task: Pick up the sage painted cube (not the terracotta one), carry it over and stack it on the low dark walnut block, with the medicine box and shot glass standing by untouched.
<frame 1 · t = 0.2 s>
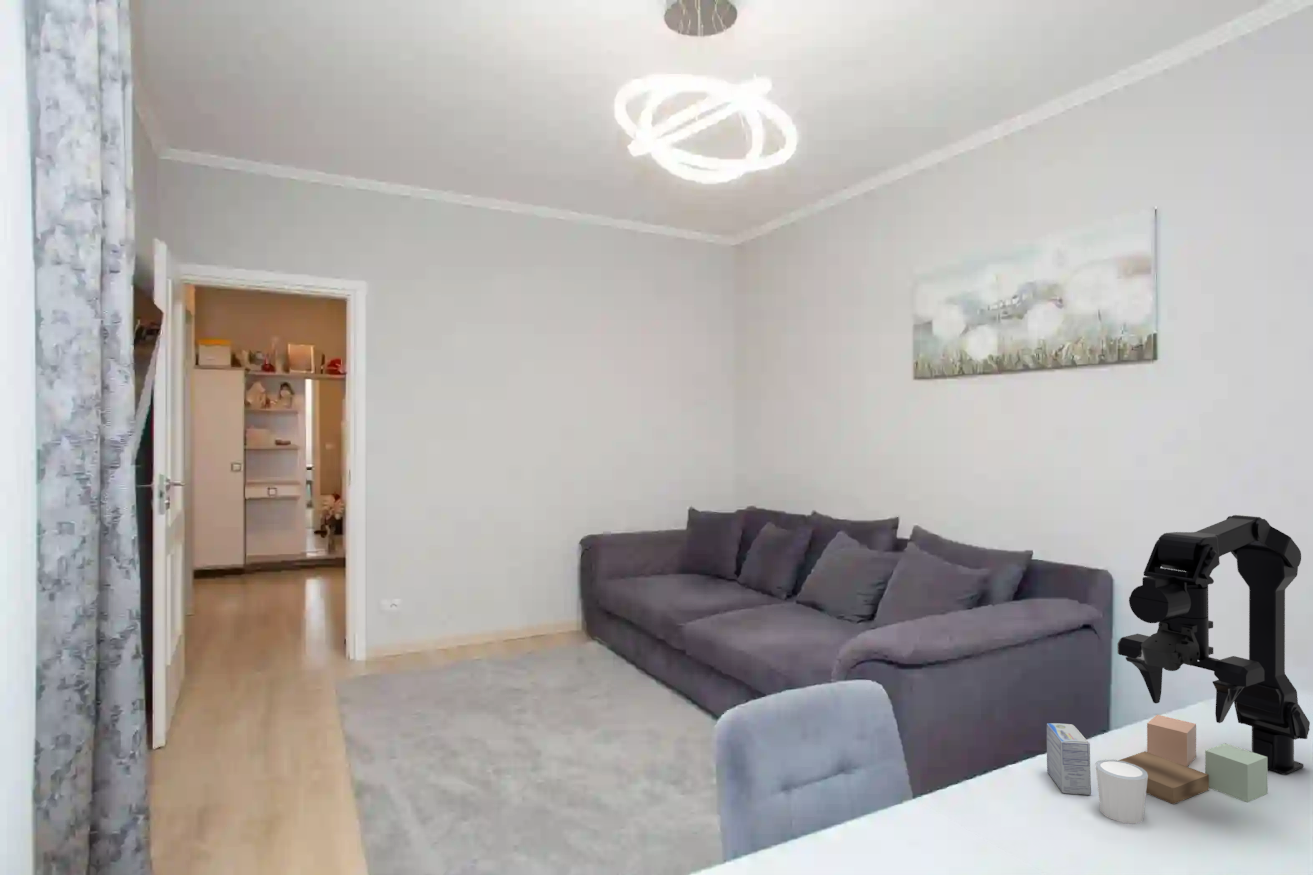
hand: (1186, 712, 118), 14 cm above the table, fingers open, 9 cm apart
walnut block: (1158, 783, 124), on the table
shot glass: (1121, 815, 114), on the table
clay cube: (1171, 756, 134), on the table
sage cube: (1236, 790, 121), on the table
medicine box: (1068, 784, 124), on the table
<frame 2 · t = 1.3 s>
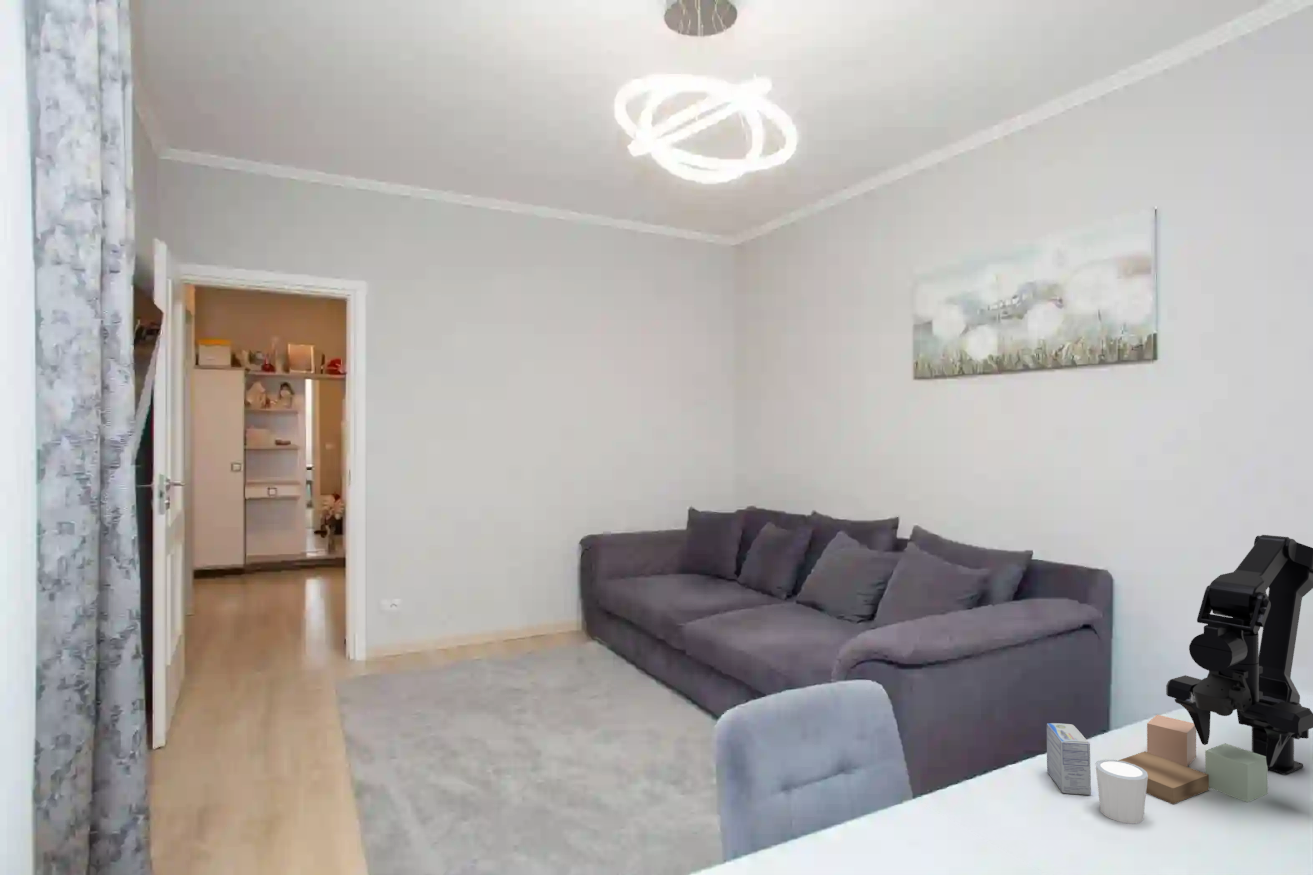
hand: (1236, 754, 121), 6 cm above the table, fingers open, 9 cm apart
nothing on the table moved.
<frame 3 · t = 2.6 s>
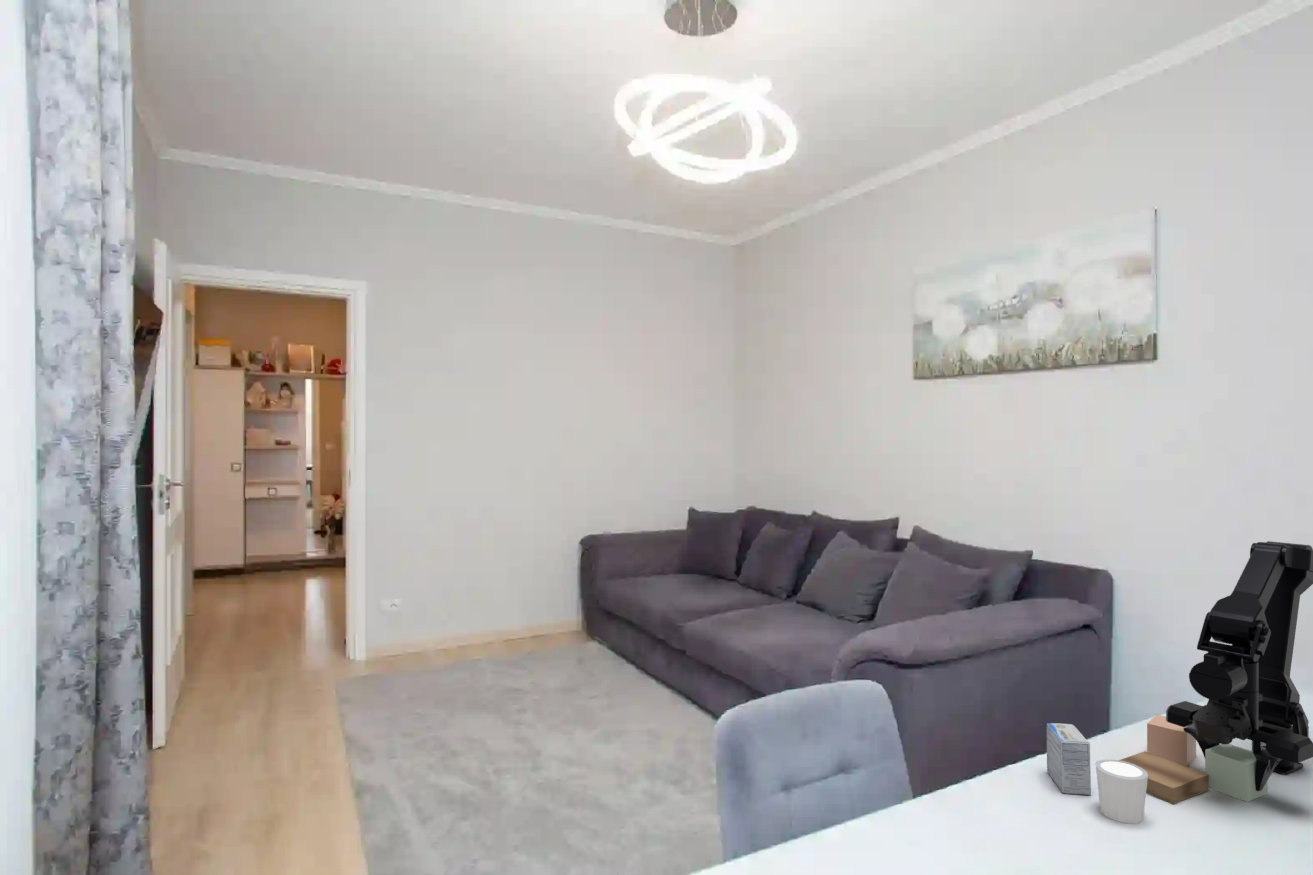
hand: (1236, 782, 121), 1 cm above the table, fingers closed on sage cube, 6 cm apart
sage cube: (1236, 789, 121), on the table, touching gripper
everything else where it was.
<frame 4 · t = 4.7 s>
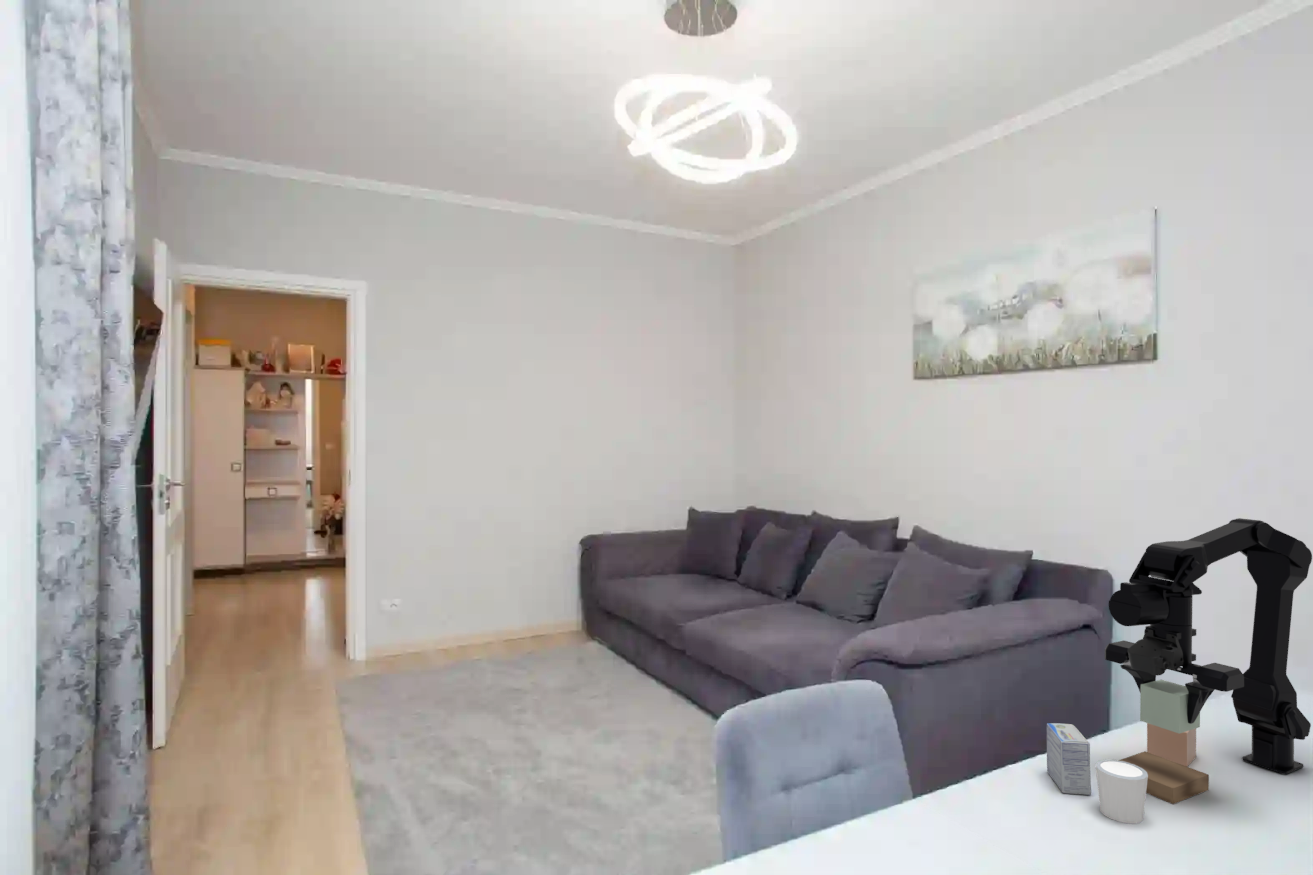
hand: (1169, 716, 123), 11 cm above the table, fingers closed on sage cube, 6 cm apart
sage cube: (1169, 723, 123), point 10 cm above the table, touching gripper
everything else where it was.
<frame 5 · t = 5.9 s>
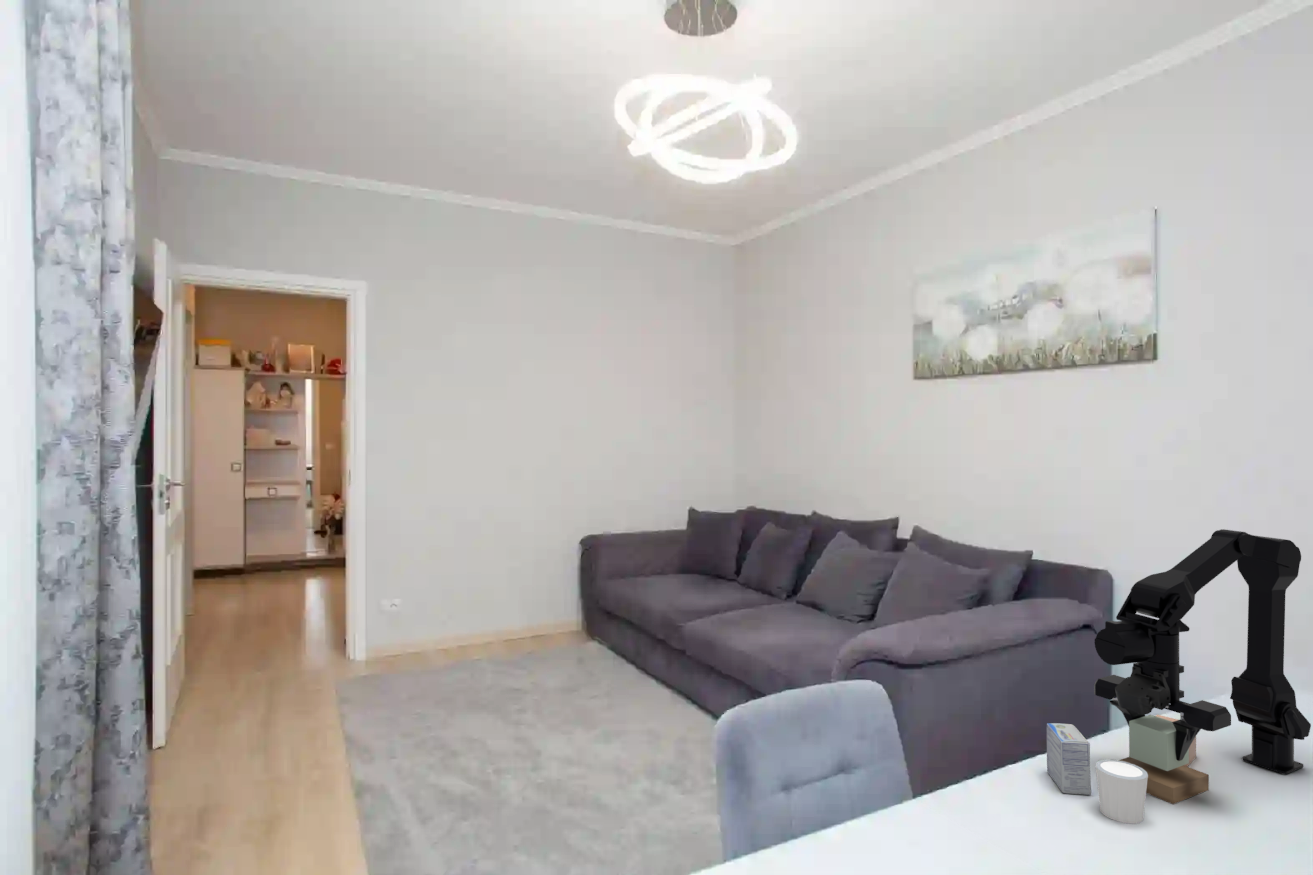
hand: (1158, 752, 124), 5 cm above the table, fingers closed on sage cube, 6 cm apart
sage cube: (1158, 759, 124), point 4 cm above the table, touching gripper
everything else where it was.
when the fingers open (4 cm above the table, at t = 6.9 s): sage cube stays where it is, resting on walnut block.
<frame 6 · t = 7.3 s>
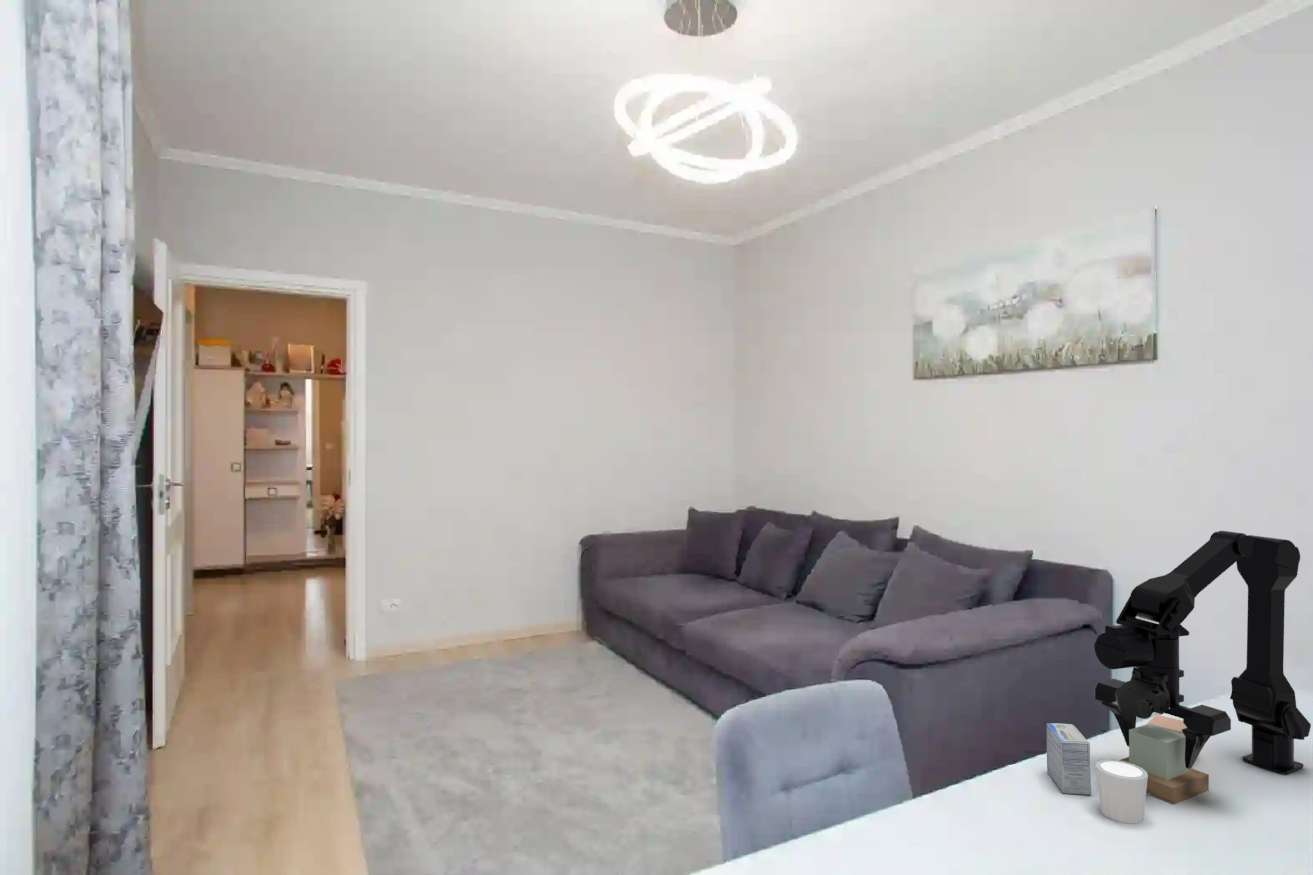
hand: (1158, 756, 124), 4 cm above the table, fingers open, 9 cm apart
sage cube: (1158, 768, 124), point 2 cm above the table, touching walnut block
everything else where it was.
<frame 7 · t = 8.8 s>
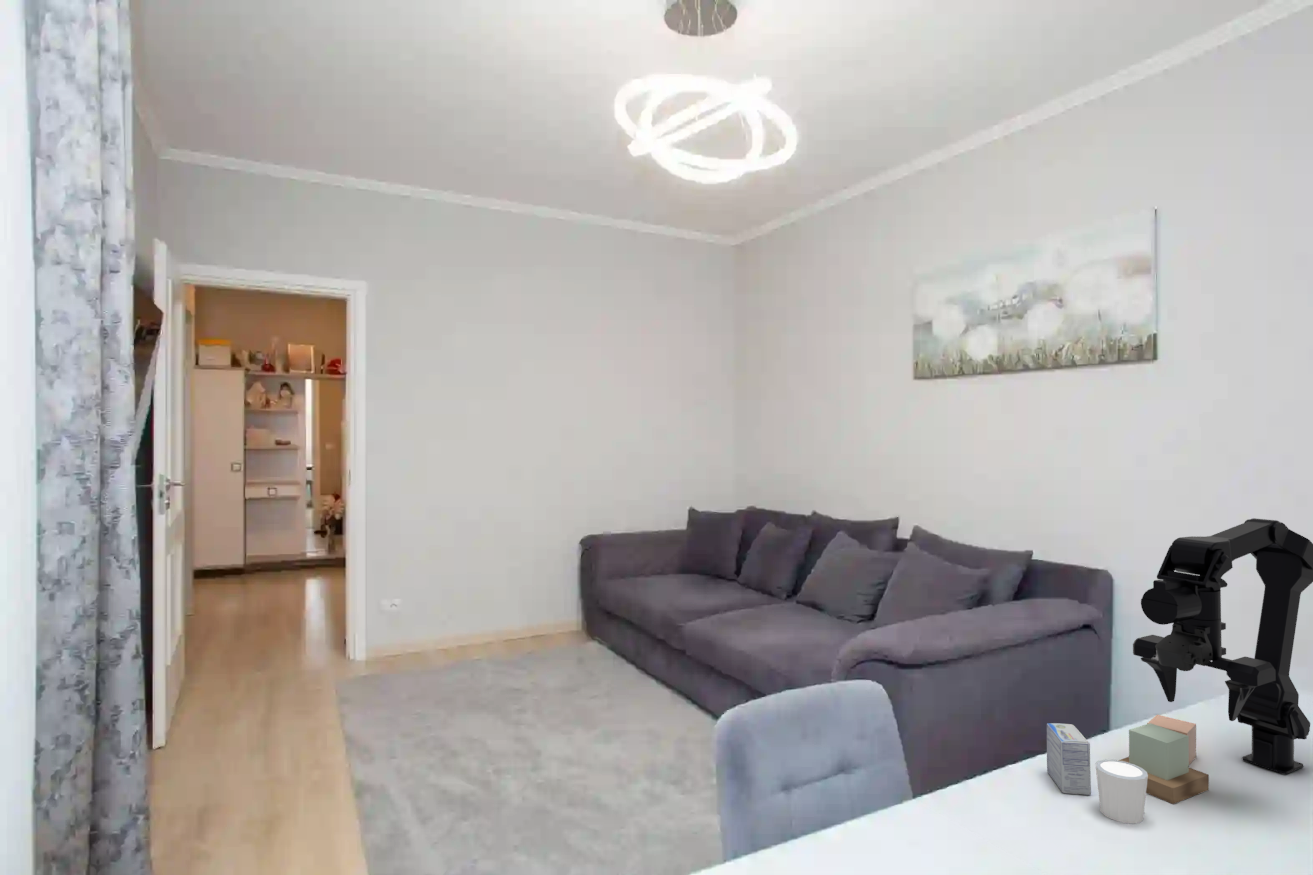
hand: (1200, 710, 122), 13 cm above the table, fingers open, 9 cm apart
nothing on the table moved.
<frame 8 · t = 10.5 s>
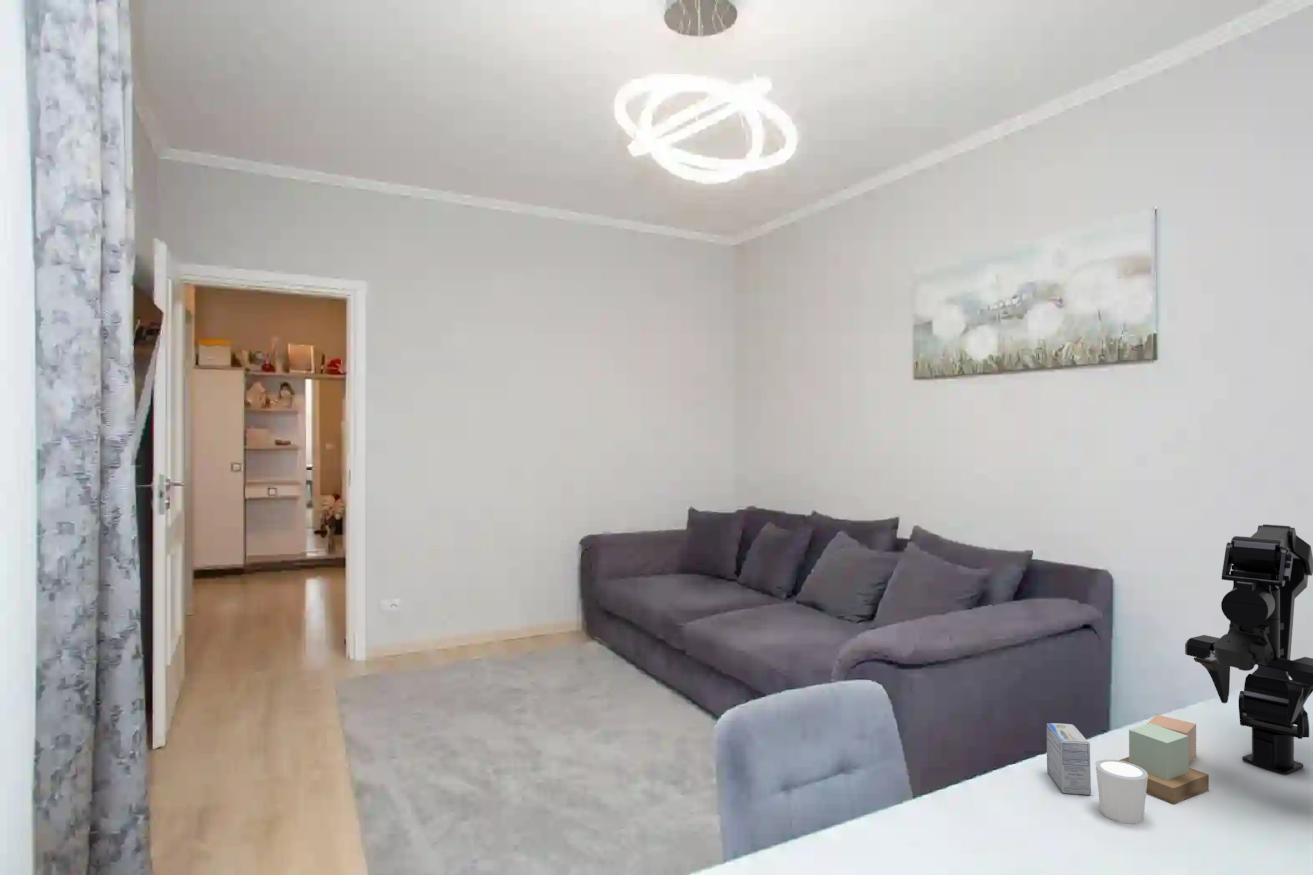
hand: (1256, 711, 120), 13 cm above the table, fingers open, 9 cm apart
nothing on the table moved.
at the end: sage cube inside the target area on the walnut block (0.0 cm from its centre), point 2.5 cm above the walnut block's base; sage cube tilted 0°; the gripper is holding nothing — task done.
